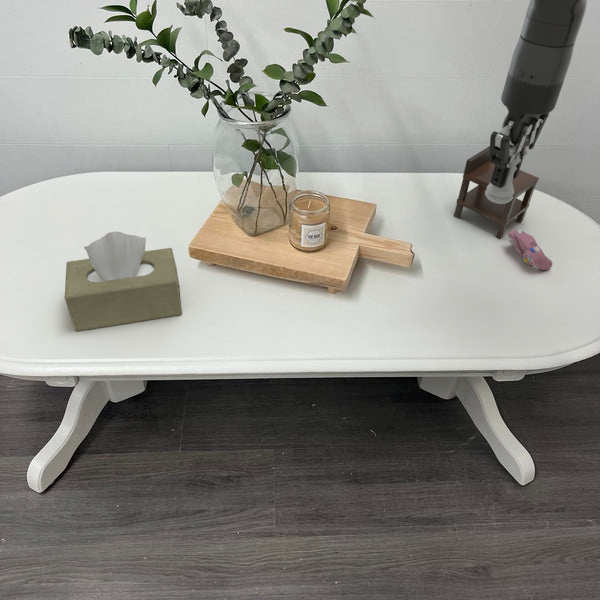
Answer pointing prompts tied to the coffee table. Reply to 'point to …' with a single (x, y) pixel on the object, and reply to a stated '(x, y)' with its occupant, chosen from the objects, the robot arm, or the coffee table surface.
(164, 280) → the tissue box
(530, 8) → the robot arm
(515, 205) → the stand
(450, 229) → the coffee table surface
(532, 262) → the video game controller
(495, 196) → the rook chess piece
